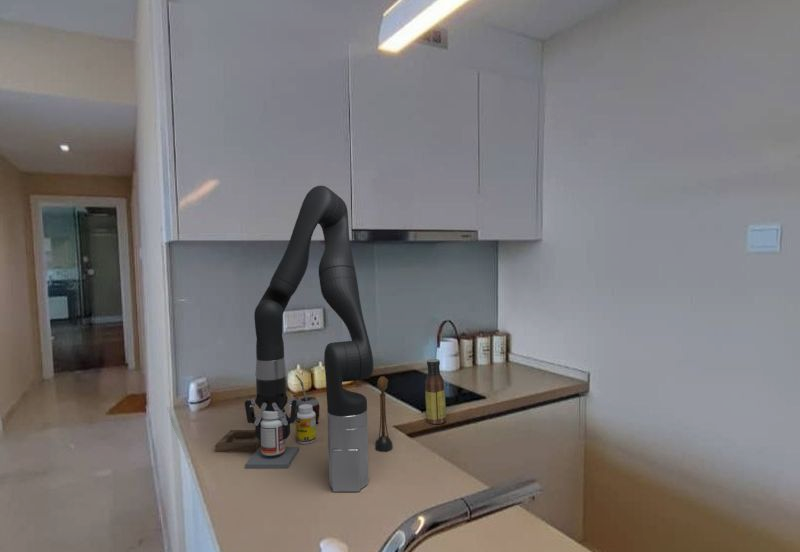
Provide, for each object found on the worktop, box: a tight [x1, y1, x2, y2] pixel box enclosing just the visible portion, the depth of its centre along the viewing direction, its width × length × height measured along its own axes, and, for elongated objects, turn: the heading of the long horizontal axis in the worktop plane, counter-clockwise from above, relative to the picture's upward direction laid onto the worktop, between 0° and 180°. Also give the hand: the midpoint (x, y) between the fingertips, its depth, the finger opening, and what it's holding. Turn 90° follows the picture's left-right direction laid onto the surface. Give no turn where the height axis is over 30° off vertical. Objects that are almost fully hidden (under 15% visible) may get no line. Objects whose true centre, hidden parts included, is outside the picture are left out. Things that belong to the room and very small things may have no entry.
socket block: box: [214, 429, 261, 453], centre depth 133 cm, size 11×11×2 cm
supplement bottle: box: [295, 404, 317, 445], centre depth 135 cm, size 6×6×10 cm
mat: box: [244, 446, 300, 469], centre depth 123 cm, size 11×11×1 cm
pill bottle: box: [260, 410, 286, 456], centre depth 123 cm, size 6×6×11 cm
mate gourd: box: [295, 374, 320, 425], centre depth 149 cm, size 8×8×15 cm
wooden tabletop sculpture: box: [374, 376, 394, 453], centre depth 129 cm, size 6×5×20 cm
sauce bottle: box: [424, 358, 447, 425], centre depth 148 cm, size 6×6×20 cm
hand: (272, 437), depth 123 cm, fingers closed on pill bottle, 6 cm apart
